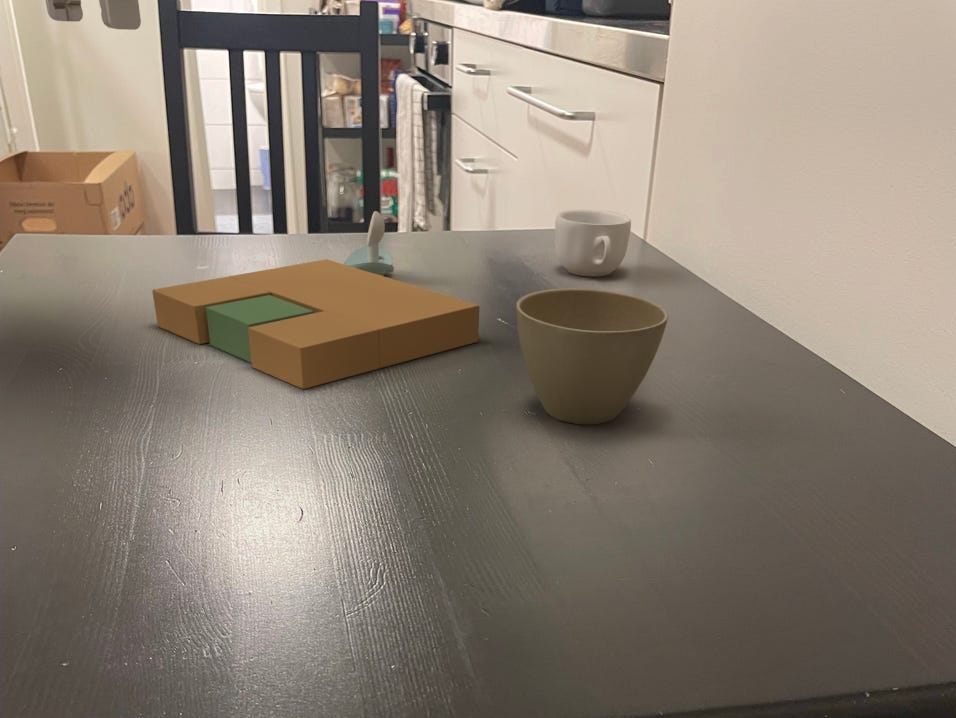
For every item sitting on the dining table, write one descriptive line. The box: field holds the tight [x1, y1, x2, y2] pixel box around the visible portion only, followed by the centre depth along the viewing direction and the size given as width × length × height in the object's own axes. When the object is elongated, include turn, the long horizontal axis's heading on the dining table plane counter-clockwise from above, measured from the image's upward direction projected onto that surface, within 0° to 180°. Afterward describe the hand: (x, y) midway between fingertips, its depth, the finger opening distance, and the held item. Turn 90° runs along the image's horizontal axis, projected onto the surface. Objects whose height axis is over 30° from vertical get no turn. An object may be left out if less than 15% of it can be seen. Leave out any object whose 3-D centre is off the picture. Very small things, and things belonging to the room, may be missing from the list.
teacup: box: [554, 209, 632, 277], centre depth 100 cm, size 10×8×5 cm
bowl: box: [515, 287, 669, 425], centre depth 65 cm, size 10×10×7 cm
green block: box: [206, 295, 314, 364], centre depth 76 cm, size 6×6×3 cm
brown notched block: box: [152, 259, 481, 390], centre depth 80 cm, size 20×18×3 cm
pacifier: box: [344, 210, 395, 276], centre depth 95 cm, size 7×6×6 cm
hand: (93, 25), depth 60 cm, fingers open, 8 cm apart
